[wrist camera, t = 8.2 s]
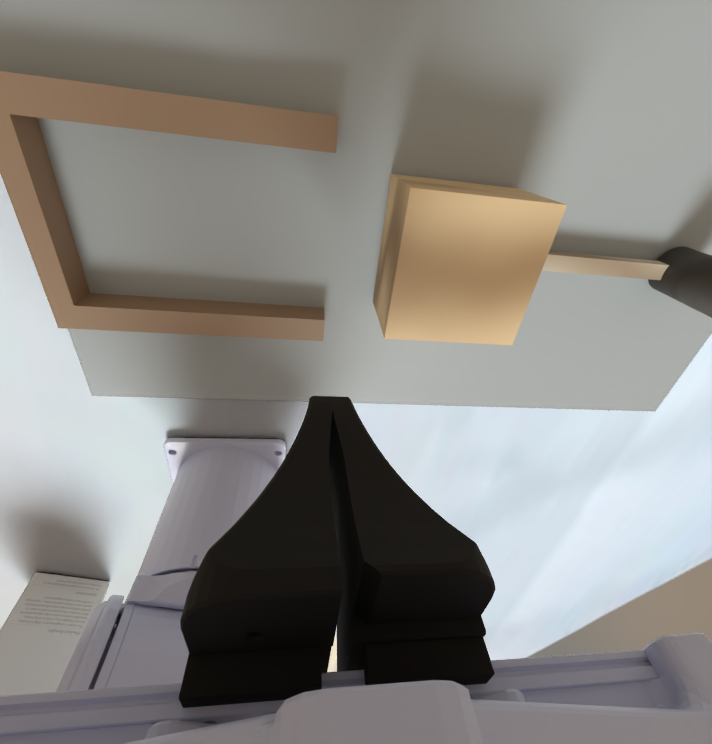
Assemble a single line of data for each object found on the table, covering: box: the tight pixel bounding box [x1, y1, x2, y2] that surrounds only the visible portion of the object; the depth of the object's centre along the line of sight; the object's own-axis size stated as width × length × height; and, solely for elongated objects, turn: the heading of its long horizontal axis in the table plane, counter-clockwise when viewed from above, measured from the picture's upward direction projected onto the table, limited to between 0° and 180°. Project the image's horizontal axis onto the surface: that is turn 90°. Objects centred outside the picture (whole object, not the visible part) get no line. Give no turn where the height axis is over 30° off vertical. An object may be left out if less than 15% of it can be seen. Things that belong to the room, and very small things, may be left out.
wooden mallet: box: [373, 174, 712, 345], centre depth 17 cm, size 6×17×4 cm, turn 84°
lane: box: [0, 0, 712, 411], centre depth 18 cm, size 20×37×2 cm, turn 84°
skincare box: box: [0, 572, 109, 696], centre depth 29 cm, size 6×4×12 cm
